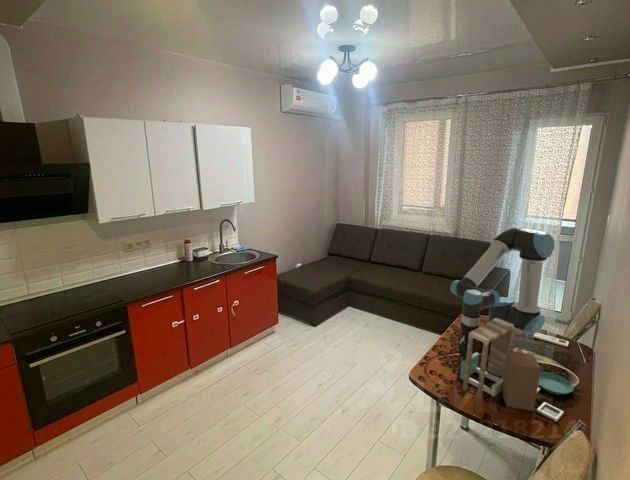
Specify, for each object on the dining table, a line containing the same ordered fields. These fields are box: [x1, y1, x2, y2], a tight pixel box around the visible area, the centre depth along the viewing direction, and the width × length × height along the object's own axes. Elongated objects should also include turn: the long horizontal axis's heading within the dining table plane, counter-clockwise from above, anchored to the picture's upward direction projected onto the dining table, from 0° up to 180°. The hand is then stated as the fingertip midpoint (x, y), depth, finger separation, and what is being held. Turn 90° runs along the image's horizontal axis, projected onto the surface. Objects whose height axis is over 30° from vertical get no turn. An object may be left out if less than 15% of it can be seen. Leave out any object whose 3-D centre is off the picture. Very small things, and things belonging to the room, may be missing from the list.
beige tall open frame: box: [462, 318, 515, 400], centre depth 152 cm, size 23×8×28 cm, turn 126°
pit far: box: [536, 401, 565, 423], centre depth 137 cm, size 7×7×1 cm
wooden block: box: [501, 350, 542, 412], centre depth 141 cm, size 10×10×20 cm
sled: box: [459, 352, 503, 398], centre depth 154 cm, size 12×16×9 cm
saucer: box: [538, 371, 575, 396], centre depth 152 cm, size 15×15×3 cm
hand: (464, 368), depth 162 cm, fingers closed
